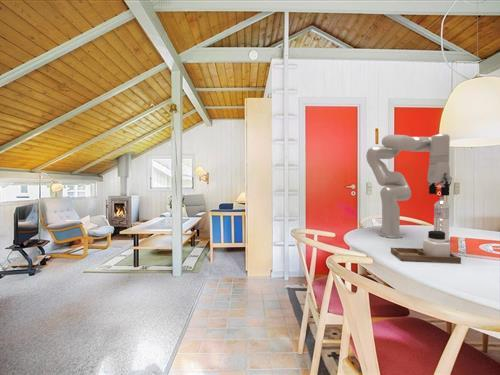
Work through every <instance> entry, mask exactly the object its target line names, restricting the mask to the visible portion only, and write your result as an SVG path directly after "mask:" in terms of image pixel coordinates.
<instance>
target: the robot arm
mask: <svg viewBox="0 0 500 375" xmlns="http://www.w3.org/2000/svg"><path fill="white" fill-rule="evenodd" d="M450 139H451V137H450V135H449V134H446V133H440V134H434V135H431V136H410V135H406V134H388V135H385V136H383V137H382V139H381V146H380V145H376V146H371V147H370V148H368V149H367V151H366V154H365V155H366V162H367V164H368V165H369V167H370V168H371V170H372V172H373V175H374V177H375V179H376V181H377V184H378V185H379V186H381V187H382V188H381V190H380V191H379V194H380V200H381V231H380V232H378V235H379V236H380V237H384V238H389V239H391V238H392V239H401V238H403V234H402V233H400V227H401V226H400V225H401V224H400V217H401V216H400V215H401V213H400V211H401V209H400V206H399V204H398V202H401V201H408V200H410V198H411V197H412V190H411V189H410V186H409V184H408V181H407V180H406V178H405V175H403V174H402V173H401V172H399V171H390V170H389V168H388V167H387V165H386V163H385V162H384V161H382V160H390V159H393V158H395V157H396V156H397V155H398V154H399V153H401V152H402V151H403V152H404V151H407V152H413V153H414V152H428V153H429V164H428V169H427V170H428V171H427V183H428V194H429V195H437V192H438V191H437V184H440V185H441V187H440V196H447V197H448V196H450V188H451V185H452V180H453V177H452V176H451V171H450V170H451V169H450V141H451V140H450Z"/></svg>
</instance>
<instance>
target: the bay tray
mask: <svg viewBox="0 0 500 375" xmlns="http://www.w3.org/2000/svg"><path fill="white" fill-rule="evenodd" d="M390 253H391V254H392V255H393V256H394V257H397V259H399V260H400V261H402V262H413V263H414V262H416V263H418V262H419V263H437V264H438V263H439V264H440V263H443V264H462V257H460V256H458V255H456V254H454V253H453V252H450V257H447V256H430V255H428V254H427V253H425V252H423V248H414V247H412V248H411V247H390Z"/></svg>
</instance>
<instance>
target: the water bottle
mask: <svg viewBox="0 0 500 375" xmlns="http://www.w3.org/2000/svg"><path fill="white" fill-rule="evenodd" d="M433 206H434V209H433V210H434V211H433V212H434V216H433V230H438V231H442V232H444V233H445V241H444V242H447V243H448V242H449V240H450V204H449V203H448V202H447V201H446V200H445V198H444V197H439V200H438V201H436V202H435V203H434V204H433Z"/></svg>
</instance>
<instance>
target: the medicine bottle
mask: <svg viewBox="0 0 500 375" xmlns="http://www.w3.org/2000/svg"><path fill="white" fill-rule="evenodd" d="M427 235H428V237H427V238H428V239H423V241H422V242H423V243H422V245H423V246H422V249H423V252H425V253H427V254H428V255H430V256H447V257H450V253H451V243H449V242H448V241H447V242H444V241H445V233H444V232H442V231H438V230H434V229H430V230H428V233H427Z"/></svg>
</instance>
